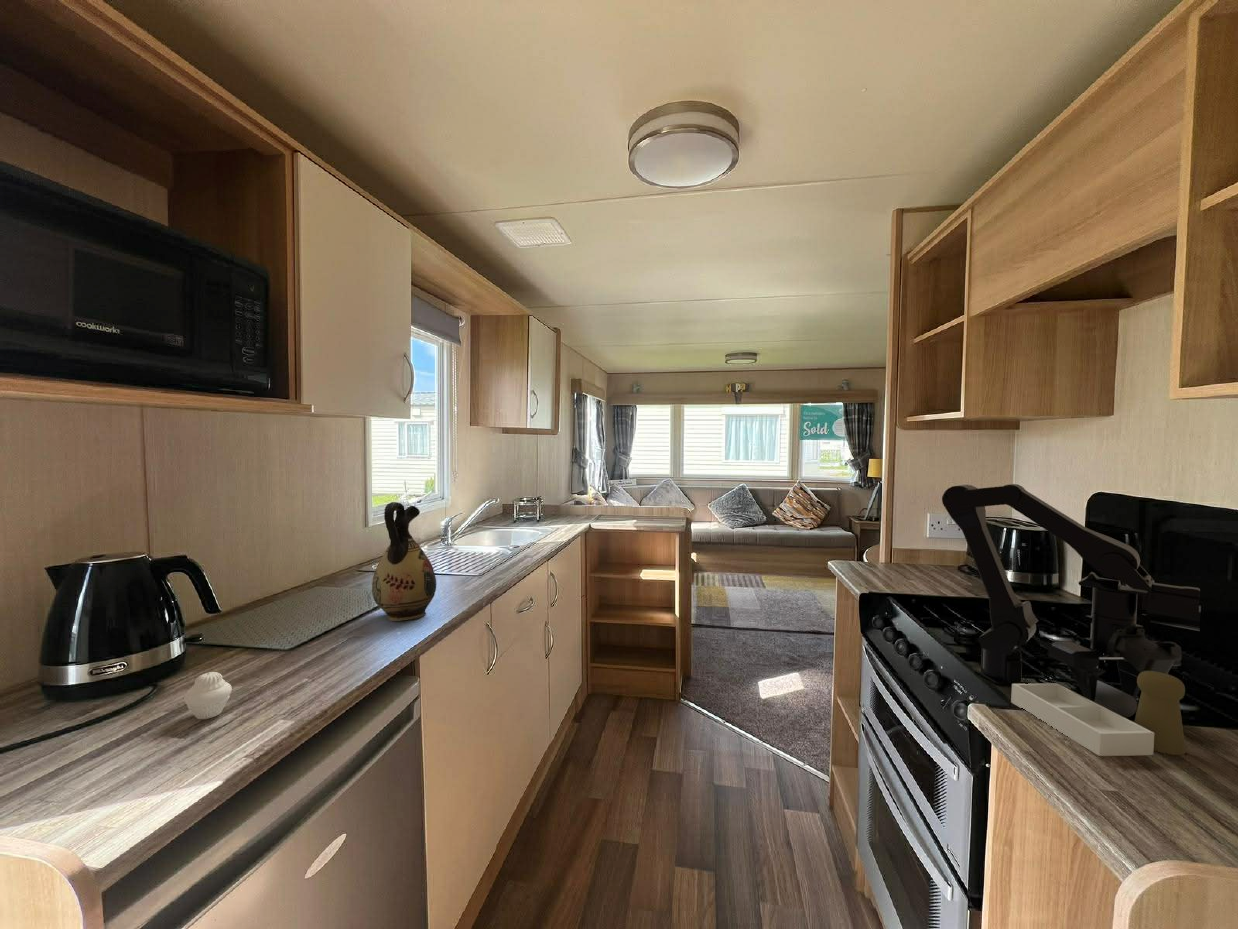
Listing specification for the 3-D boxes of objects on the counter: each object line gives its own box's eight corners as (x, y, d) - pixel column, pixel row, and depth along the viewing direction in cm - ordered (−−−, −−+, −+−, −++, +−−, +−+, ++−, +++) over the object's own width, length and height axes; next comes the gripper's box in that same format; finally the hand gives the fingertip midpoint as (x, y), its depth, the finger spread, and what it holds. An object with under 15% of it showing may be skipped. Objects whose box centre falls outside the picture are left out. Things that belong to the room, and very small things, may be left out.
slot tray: (1011, 702, 94) (1011, 683, 94) (1056, 701, 95) (1057, 683, 95) (1099, 756, 78) (1100, 733, 78) (1153, 755, 79) (1154, 732, 78)
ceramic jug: (394, 605, 145) (394, 497, 144) (446, 609, 143) (447, 499, 142) (354, 625, 128) (353, 503, 127) (412, 630, 126) (412, 506, 125)
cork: (1128, 729, 86) (1131, 663, 86) (1181, 742, 82) (1185, 673, 82) (1132, 745, 81) (1136, 675, 81) (1189, 760, 77) (1193, 687, 77)
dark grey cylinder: (1082, 701, 96) (1082, 680, 96) (1103, 700, 96) (1103, 678, 96) (1115, 718, 90) (1115, 695, 90) (1137, 716, 90) (1137, 694, 90)
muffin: (239, 703, 90) (238, 663, 89) (221, 722, 84) (221, 678, 83) (196, 707, 88) (196, 666, 88) (175, 726, 82) (175, 682, 82)
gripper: (1108, 631, 84) (1103, 727, 84) (1217, 631, 85) (1212, 726, 85) (1047, 609, 95) (1043, 694, 95) (1145, 609, 96) (1140, 693, 96)
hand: (1109, 702), depth 93 cm, fingers open, 7 cm apart
